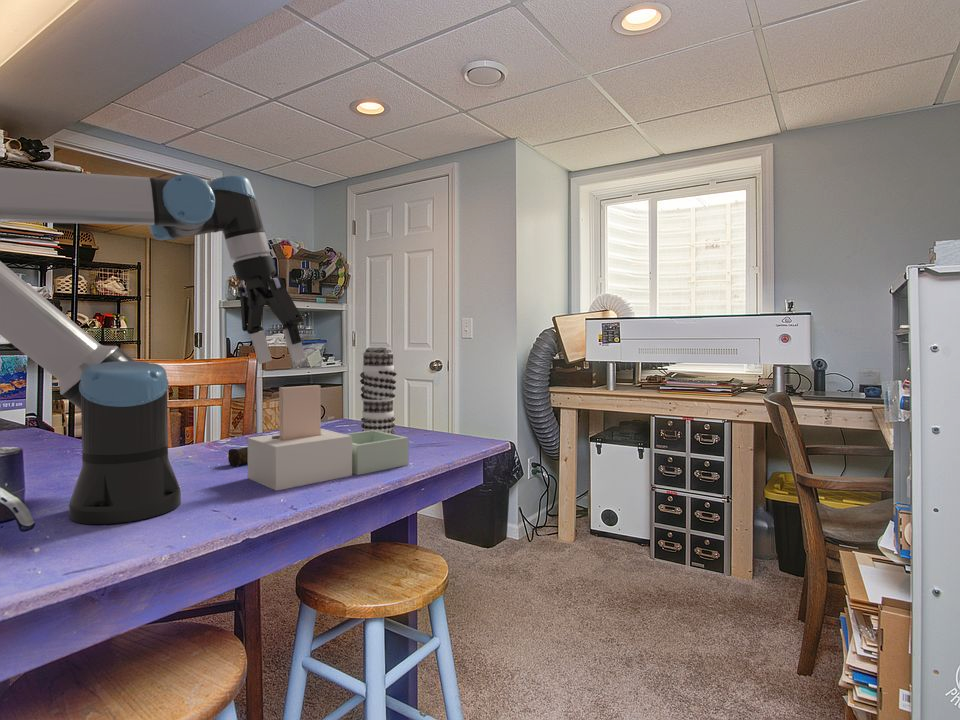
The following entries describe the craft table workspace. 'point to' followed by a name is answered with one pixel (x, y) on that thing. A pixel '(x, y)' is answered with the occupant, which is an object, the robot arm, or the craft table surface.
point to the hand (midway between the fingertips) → (281, 361)
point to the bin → (378, 451)
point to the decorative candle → (378, 390)
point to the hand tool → (238, 456)
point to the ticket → (299, 412)
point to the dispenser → (299, 459)
